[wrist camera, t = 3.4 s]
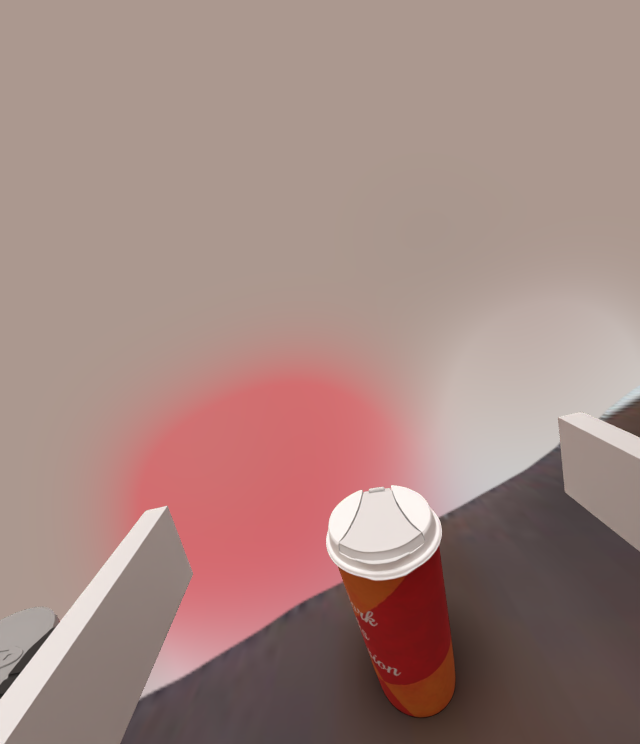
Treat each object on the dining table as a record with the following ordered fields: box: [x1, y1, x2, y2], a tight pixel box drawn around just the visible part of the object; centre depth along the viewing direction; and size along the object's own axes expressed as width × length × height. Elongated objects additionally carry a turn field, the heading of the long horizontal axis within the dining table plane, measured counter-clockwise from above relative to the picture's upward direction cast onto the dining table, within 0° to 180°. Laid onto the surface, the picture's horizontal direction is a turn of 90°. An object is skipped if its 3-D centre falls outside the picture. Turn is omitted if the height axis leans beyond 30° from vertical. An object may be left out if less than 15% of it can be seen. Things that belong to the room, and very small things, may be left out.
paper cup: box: [326, 485, 455, 717], centre depth 25 cm, size 8×8×14 cm
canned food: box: [0, 607, 60, 684], centre depth 25 cm, size 8×8×11 cm
